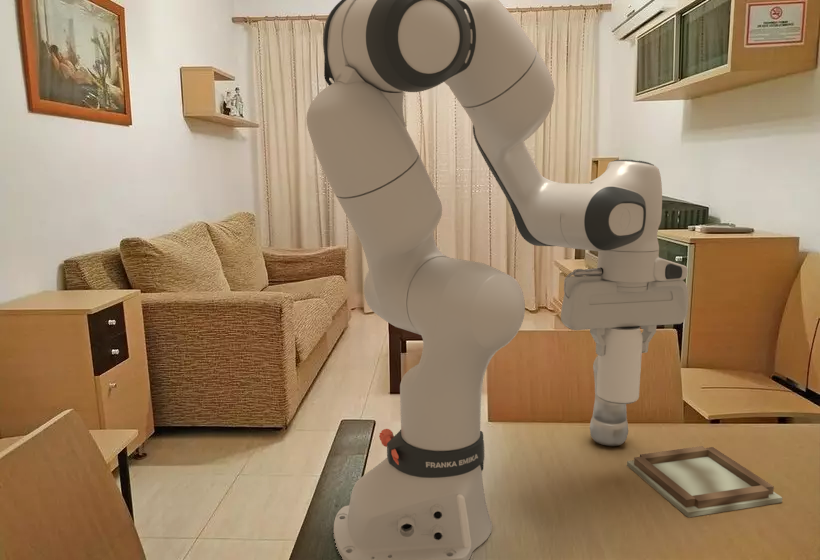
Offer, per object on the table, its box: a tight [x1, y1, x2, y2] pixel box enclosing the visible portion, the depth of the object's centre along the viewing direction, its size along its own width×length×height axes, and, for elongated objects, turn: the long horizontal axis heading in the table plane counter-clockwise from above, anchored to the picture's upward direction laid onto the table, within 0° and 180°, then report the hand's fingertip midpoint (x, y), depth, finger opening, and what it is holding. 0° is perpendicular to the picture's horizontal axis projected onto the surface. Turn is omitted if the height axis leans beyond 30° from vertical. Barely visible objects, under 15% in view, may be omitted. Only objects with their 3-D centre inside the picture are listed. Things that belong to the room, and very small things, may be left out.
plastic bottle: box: [589, 355, 629, 447], centre depth 112 cm, size 6×7×20 cm
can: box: [597, 326, 643, 405], centre depth 99 cm, size 6×6×12 cm
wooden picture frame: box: [626, 445, 783, 518], centre depth 99 cm, size 16×16×2 cm
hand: (621, 353), depth 99 cm, fingers closed on can, 5 cm apart
